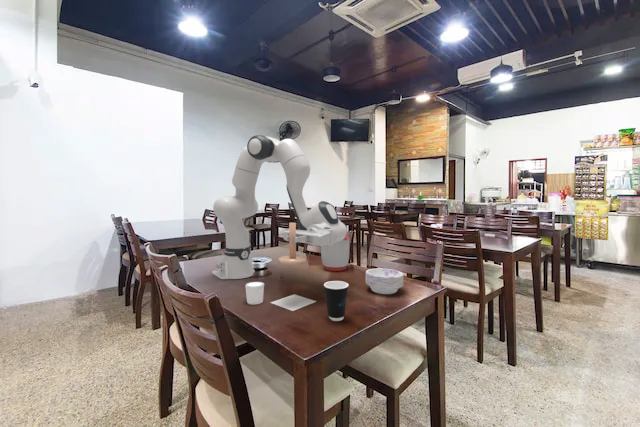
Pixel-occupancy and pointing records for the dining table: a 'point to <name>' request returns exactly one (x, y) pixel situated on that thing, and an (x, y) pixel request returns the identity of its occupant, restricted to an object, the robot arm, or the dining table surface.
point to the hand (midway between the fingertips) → (290, 239)
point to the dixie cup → (336, 299)
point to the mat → (293, 302)
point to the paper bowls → (384, 280)
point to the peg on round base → (292, 249)
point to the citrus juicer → (336, 255)
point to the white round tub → (254, 292)
